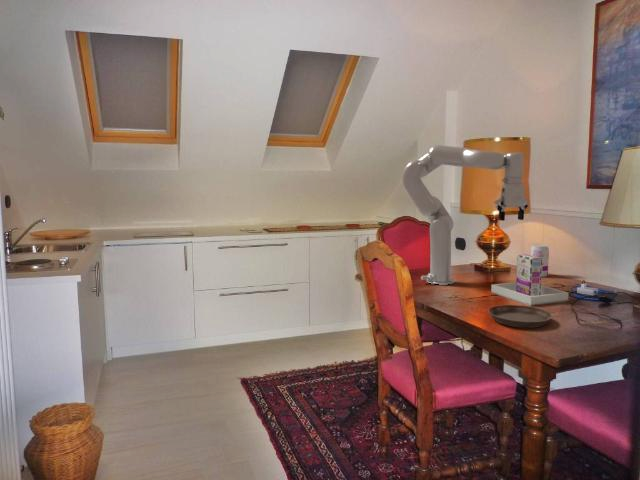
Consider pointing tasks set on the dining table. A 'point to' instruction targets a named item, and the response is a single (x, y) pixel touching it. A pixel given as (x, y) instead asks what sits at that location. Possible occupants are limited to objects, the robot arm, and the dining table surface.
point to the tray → (545, 295)
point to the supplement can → (543, 253)
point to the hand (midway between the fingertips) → (511, 220)
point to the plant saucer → (520, 316)
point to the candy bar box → (528, 275)
